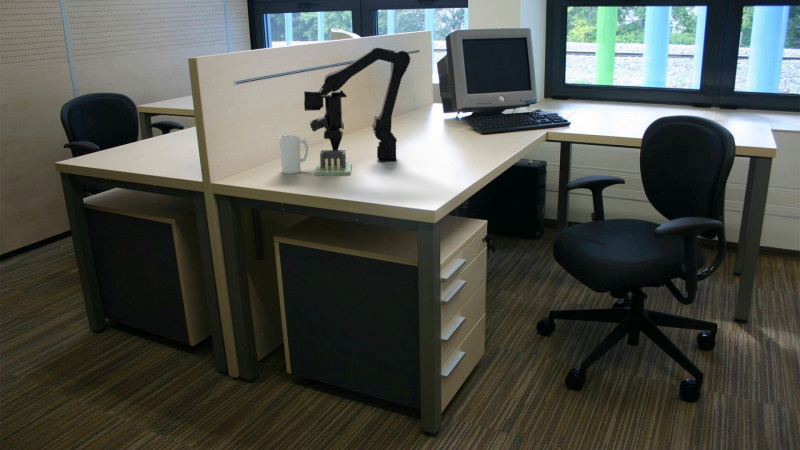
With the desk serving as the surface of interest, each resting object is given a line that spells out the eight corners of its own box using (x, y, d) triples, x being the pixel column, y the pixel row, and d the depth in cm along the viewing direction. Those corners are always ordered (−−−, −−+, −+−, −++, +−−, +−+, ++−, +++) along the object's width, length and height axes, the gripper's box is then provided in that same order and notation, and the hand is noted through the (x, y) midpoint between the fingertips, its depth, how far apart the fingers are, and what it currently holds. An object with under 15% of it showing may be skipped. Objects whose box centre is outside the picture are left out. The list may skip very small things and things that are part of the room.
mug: (286, 174, 223) (284, 140, 219) (278, 170, 228) (276, 136, 224) (313, 170, 228) (311, 136, 224) (304, 166, 234) (303, 132, 229)
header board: (351, 165, 235) (351, 151, 233) (350, 174, 223) (349, 160, 222) (317, 165, 234) (316, 152, 232) (314, 175, 223) (314, 160, 221)
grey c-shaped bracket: (321, 164, 232) (321, 150, 231) (346, 163, 233) (345, 150, 231) (320, 168, 227) (320, 154, 225) (345, 168, 227) (345, 154, 225)
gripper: (312, 105, 242) (314, 147, 247) (308, 115, 224) (310, 159, 230) (343, 105, 242) (344, 147, 248) (341, 114, 225) (342, 159, 230)
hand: (335, 153), depth 239 cm, fingers closed
